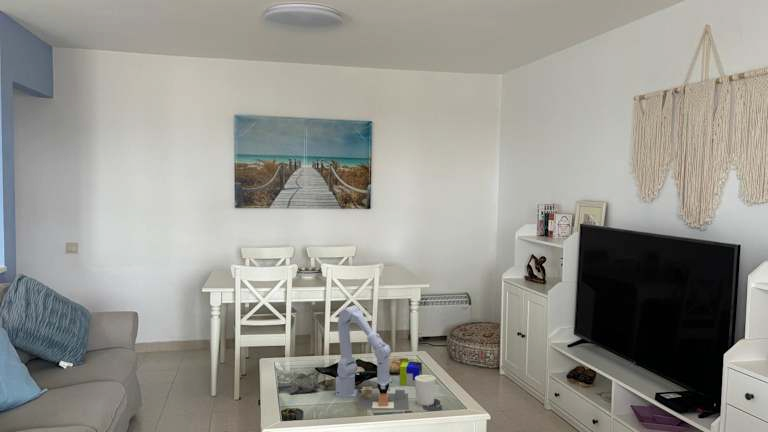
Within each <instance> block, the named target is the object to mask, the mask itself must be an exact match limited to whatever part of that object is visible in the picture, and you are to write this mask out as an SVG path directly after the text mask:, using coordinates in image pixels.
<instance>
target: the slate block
mask: <svg viewBox="0 0 768 432" xmlns="http://www.w3.org/2000/svg"><path fill="white" fill-rule="evenodd" d="M405 392H406V388H405V386H395V387H394V393H395V399H405Z"/></svg>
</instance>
